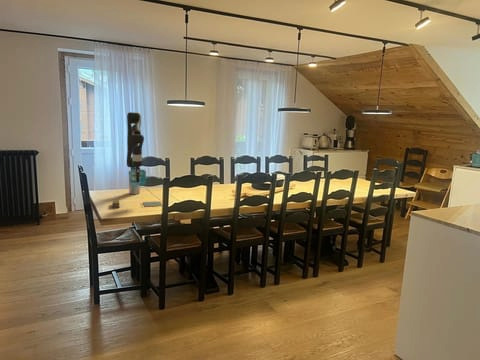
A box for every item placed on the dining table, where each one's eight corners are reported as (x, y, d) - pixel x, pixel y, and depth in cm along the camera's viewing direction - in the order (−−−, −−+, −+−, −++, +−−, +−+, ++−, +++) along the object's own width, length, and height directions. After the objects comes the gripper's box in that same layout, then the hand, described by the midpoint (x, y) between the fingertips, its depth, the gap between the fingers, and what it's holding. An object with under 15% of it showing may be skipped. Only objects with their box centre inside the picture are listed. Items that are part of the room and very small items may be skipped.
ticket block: (112, 204, 292) (112, 199, 292) (119, 204, 294) (119, 199, 293) (112, 208, 281) (112, 203, 280) (119, 207, 283) (119, 202, 282)
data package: (130, 186, 285) (130, 170, 283) (129, 185, 289) (129, 170, 286) (146, 184, 291) (145, 170, 289) (144, 183, 295) (144, 169, 293)
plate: (140, 202, 300) (140, 202, 300) (160, 201, 305) (160, 201, 305) (141, 207, 287) (141, 206, 287) (162, 205, 292) (162, 205, 292)
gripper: (132, 158, 292) (132, 179, 295) (132, 161, 278) (133, 183, 282) (141, 158, 294) (142, 179, 297) (142, 161, 281) (143, 183, 284)
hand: (137, 181), depth 289 cm, fingers closed on data package, 5 cm apart
